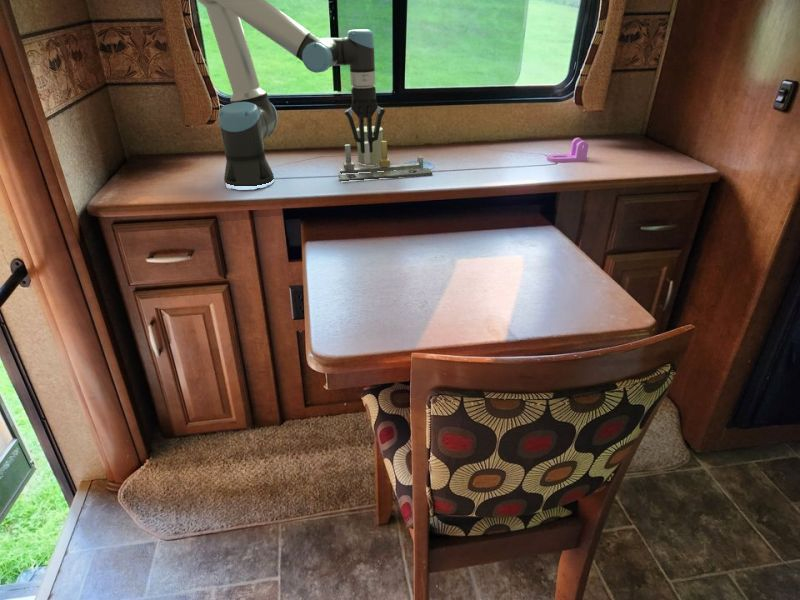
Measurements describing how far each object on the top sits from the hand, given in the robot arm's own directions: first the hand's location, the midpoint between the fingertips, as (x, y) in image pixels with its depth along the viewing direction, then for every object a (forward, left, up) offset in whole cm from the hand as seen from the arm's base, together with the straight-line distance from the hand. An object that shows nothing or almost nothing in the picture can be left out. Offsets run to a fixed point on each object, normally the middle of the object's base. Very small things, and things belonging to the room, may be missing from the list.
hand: (367, 162), depth 171 cm
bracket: (+70, -4, -4) cm, 70 cm away
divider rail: (+5, 0, -3) cm, 6 cm away
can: (+3, +11, -4) cm, 12 cm away
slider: (+6, 0, -2) cm, 6 cm away
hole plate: (+5, -6, -3) cm, 9 cm away
